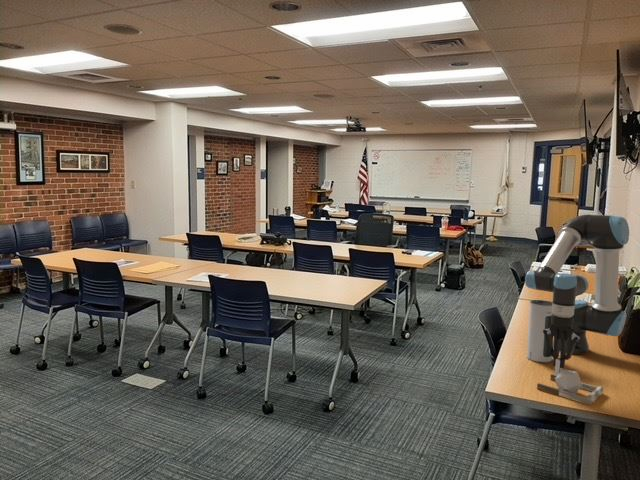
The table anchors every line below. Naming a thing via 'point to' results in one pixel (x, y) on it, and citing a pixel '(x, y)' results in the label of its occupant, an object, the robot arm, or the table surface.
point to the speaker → (539, 330)
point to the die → (568, 381)
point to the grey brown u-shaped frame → (589, 400)
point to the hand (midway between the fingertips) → (558, 375)
